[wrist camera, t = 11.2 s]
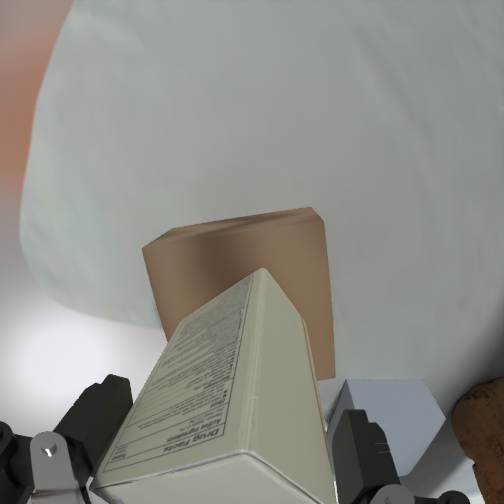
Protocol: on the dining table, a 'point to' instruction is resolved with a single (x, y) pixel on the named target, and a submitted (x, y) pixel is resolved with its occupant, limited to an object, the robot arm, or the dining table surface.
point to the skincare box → (226, 411)
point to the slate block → (393, 416)
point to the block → (483, 436)
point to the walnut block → (247, 270)
